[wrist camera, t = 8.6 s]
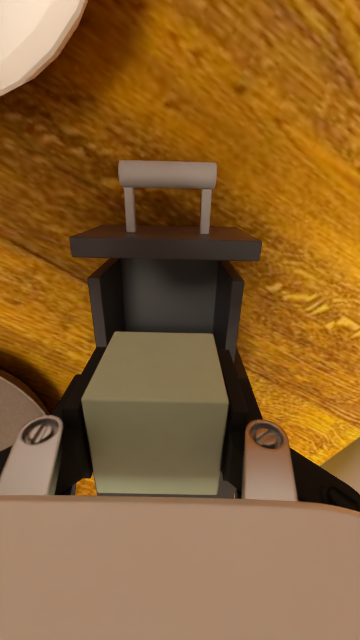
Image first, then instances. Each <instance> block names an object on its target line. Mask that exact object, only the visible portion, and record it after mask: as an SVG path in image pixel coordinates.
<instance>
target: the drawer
mask: <svg viewBox="0 0 360 640" xmlns="http://www.w3.org/2000/svg"><path fill="white" fill-rule="evenodd" d="M118 175H119V181H120V185H121V186H122V187H124V199H125V215H126V225H106V224H104V225H101V226H99V227H96V228H93V229H90V230H88V231H85V232H82V233H80V234H77V235H74V236H71V237H70V238H69V239H70V246H71V253H72V257H87V258H109V259H108V260H107V261H106V262H105V263H104V264H103V265H102V266H100V267H99V268H98V269H97V270H96V271H95V272H94V273H92V274H91V275H90V276H89V277H88V278H87V279H88V287H89V295H90V302H91V310H92V318H93V326H94V333H95V341H96V348H97V347H107V346H108V344H109V342H110V340H111V338H112V336H113V334H114V332H160V333H206V334H213V336H214V340H215V345H216V349H226V350H229V351H230V354H231V357H232V360H233V363H234V359H235V351H236V343H237V335H238V327H239V320H240V312H241V304H242V296H243V288H244V280H243V279H242V278H241V276H240V275H239V274H238V272H237V271H236V270H235V269H234V267H233V266H232V265H231V263H230V262H229V261H259V259H260V252H261V246H262V241H260V240H258V239H256V238H254V237H253V236H251V235H249V234H247V233H245V232H243V231H242V230H240V229H238V228H236V227H209V226H210V210H211V195H212V189H214V188H215V185H216V178H217V164H216V163H215V162H182V161H142V160H120V161H119V164H118ZM133 187H138V188H180V189H202V196H201V216H200V227H196V226H151V225H136V212H135V190H134V188H133ZM228 260H229V261H228Z"/></svg>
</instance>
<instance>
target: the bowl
mask: <svg viewBox="0 0 360 640" xmlns="http://www.w3.org/2000/svg"><path fill="white" fill-rule="evenodd" d="M87 3H88V0H0V96H2V95H4V94H6V93H8V92H10V91H12V90H13V89H15V88H17V87H19V86H21V85H23V84H25V83H27V82H28V81H30V80H32V79H34V78H35V77H37V76H38V75H39V74H40V73H41V72H42V71H43V70H44V69H45V68H46V67H47V66H48V65H49V64H50V63H51V62H52V61H54V60H55V59H56V58H57V57H58V56H59V54H60V53H61V51H62V50H63V48H64V47H65V45H66V44H67V42H68V41H69V39H70V37H71V36H72V34H73V33H74V31H75V30H76V28H77V27H78V25H79V23H80V20H81V18H82V15H83V13H84V10H85V8H86V5H87Z"/></svg>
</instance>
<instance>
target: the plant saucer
mask: <svg viewBox="0 0 360 640" xmlns="http://www.w3.org/2000/svg"><path fill="white" fill-rule="evenodd" d="M44 415H50V414H49V412H48V410H47V409H46V407H45V406H44V404H43V403H42V401H41V400H40V399H39V398H38V396H37V395H36V394H35V393H34V392H33V391H32V390H31V389H30V388H29V387H28V386H26V385H25V384H24V383H23V382H21V381H20V380H19V379H17V378H16V377H14V376H12V375H11V374H9V373H7V372H5V371H3V370H1V369H0V451H2V450H4V449H6V448H8V447H10V446H12V445H13V443H14V441H15V438H16V436H17V434H18V432H19V430H20V429H21V428H22V427H23V426H24V425H25V424H26V423H27V422H29V421H30V420H32V419H34V418H37V417H40V416H44Z"/></svg>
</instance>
